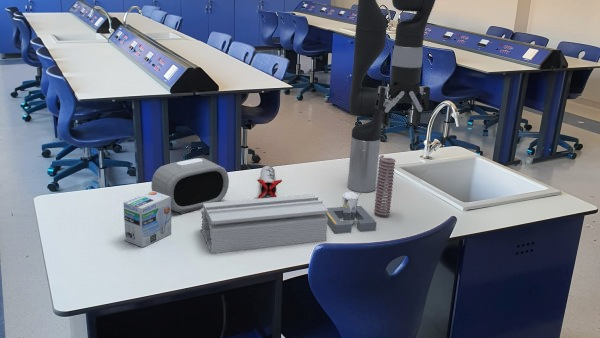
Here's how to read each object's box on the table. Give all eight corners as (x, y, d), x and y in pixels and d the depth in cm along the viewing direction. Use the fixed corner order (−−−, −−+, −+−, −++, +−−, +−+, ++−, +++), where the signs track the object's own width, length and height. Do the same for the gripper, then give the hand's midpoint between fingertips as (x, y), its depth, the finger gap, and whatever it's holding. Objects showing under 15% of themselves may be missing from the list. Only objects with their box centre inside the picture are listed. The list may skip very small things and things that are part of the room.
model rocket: (289, 171, 205) (270, 149, 203) (292, 192, 183) (271, 168, 180) (265, 191, 206) (245, 170, 204) (265, 214, 184) (244, 191, 182)
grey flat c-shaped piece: (321, 215, 175) (322, 207, 175) (360, 213, 179) (361, 204, 178) (334, 233, 165) (335, 224, 164) (375, 230, 168) (376, 221, 167)
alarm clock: (168, 218, 169) (167, 173, 164) (152, 207, 175) (150, 163, 171) (229, 202, 182) (229, 160, 177) (211, 192, 188) (211, 151, 184)
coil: (391, 213, 180) (397, 156, 174) (386, 219, 176) (393, 160, 170) (376, 210, 181) (382, 153, 175) (371, 215, 177) (377, 157, 171)
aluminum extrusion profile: (201, 231, 163) (201, 196, 160) (307, 220, 173) (309, 187, 170) (212, 254, 150) (212, 218, 147) (326, 241, 160) (328, 207, 157)
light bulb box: (143, 248, 151) (141, 208, 148) (124, 241, 154) (121, 202, 151) (172, 233, 160) (172, 195, 156) (154, 227, 163) (153, 189, 159)
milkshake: (358, 227, 169) (361, 194, 166) (339, 225, 170) (342, 192, 167) (359, 220, 173) (362, 188, 170) (341, 218, 174) (343, 186, 171)
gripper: (425, 61, 159) (418, 121, 164) (374, 61, 155) (369, 122, 160) (438, 66, 152) (431, 128, 157) (386, 66, 148) (380, 129, 154)
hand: (400, 125), depth 159 cm, fingers open, 8 cm apart
